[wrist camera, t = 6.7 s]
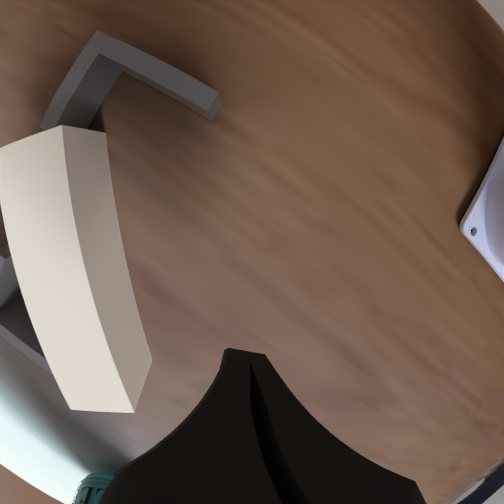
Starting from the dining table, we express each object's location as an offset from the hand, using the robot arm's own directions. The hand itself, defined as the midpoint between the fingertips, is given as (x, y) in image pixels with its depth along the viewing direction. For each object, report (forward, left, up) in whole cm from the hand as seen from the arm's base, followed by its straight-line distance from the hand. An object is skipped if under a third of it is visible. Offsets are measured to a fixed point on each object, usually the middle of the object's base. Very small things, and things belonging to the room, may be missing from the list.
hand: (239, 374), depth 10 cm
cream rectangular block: (+7, +2, -6) cm, 10 cm away
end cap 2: (+9, -5, -6) cm, 11 cm away
